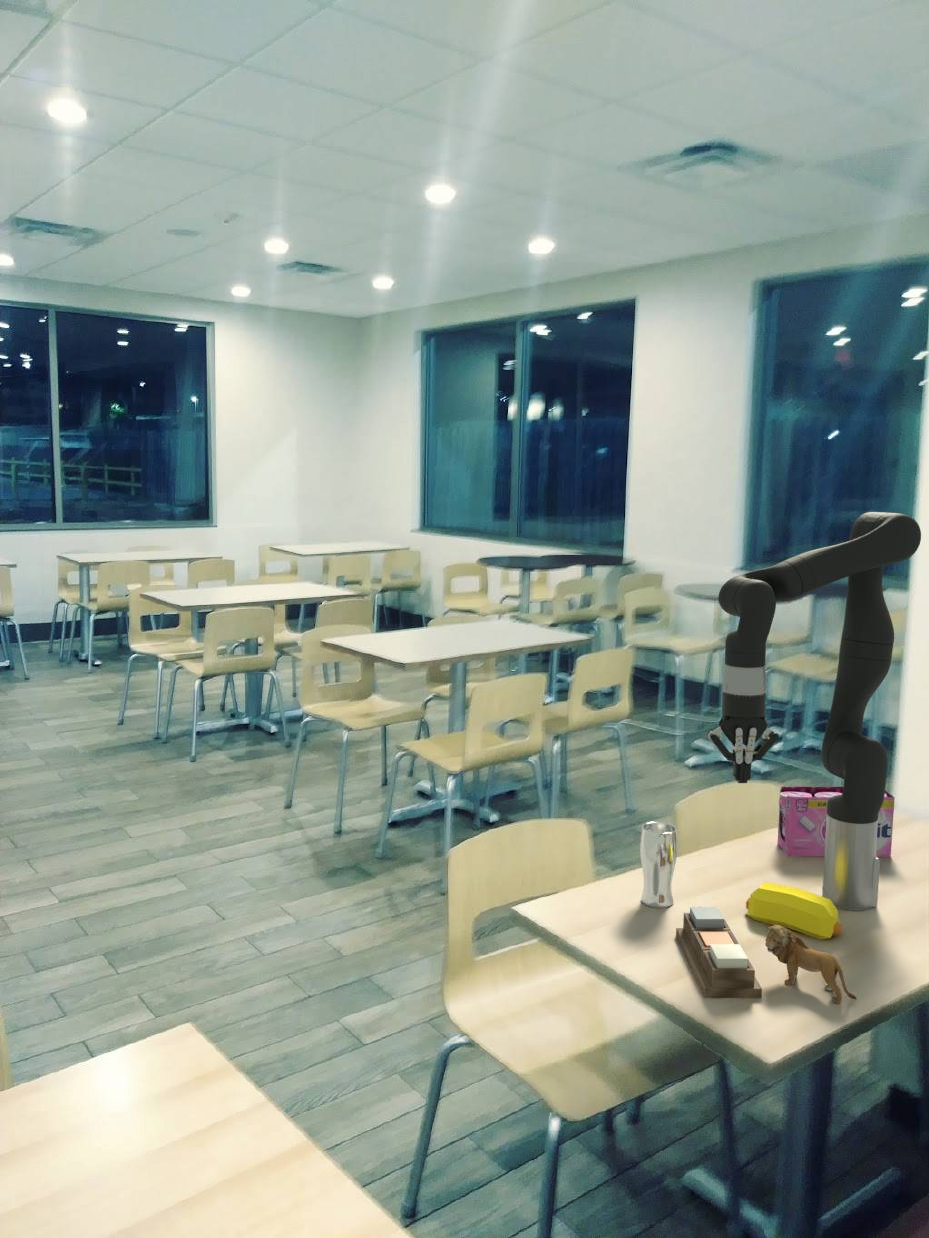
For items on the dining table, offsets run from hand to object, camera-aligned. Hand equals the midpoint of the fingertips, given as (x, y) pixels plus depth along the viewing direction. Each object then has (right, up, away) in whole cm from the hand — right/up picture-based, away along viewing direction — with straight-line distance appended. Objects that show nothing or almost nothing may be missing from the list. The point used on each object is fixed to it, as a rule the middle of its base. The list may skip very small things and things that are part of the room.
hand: (741, 781), depth 177 cm
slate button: (-8, -25, -6) cm, 27 cm away
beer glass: (-13, -25, +12) cm, 31 cm away
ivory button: (-8, -27, -20) cm, 34 cm away
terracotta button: (-8, -27, -13) cm, 31 cm away
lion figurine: (+5, -30, -20) cm, 36 cm away
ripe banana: (+10, -27, +2) cm, 29 cm away
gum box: (+31, -22, +38) cm, 54 cm away
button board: (-8, -29, -13) cm, 33 cm away
